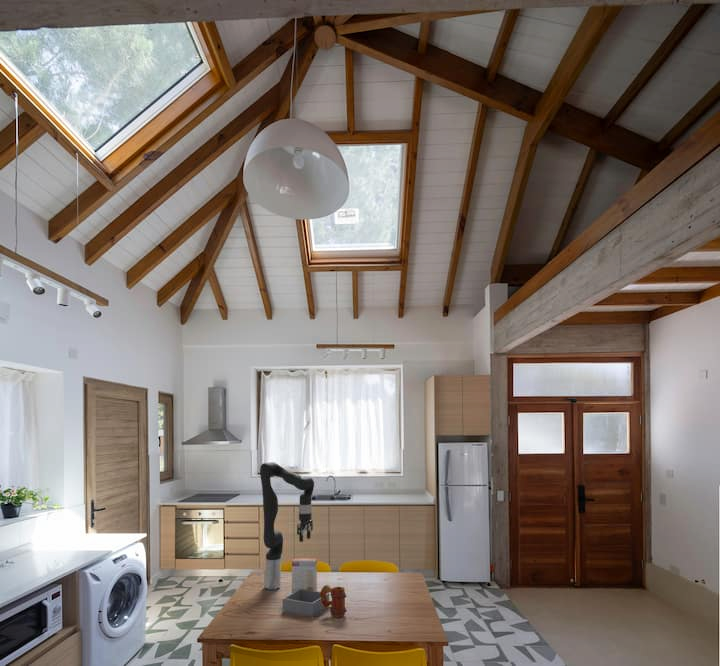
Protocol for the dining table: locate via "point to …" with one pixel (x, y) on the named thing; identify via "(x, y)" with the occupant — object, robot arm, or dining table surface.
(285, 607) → the bin
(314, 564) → the cracker box
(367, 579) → the dining table surface
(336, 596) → the mug
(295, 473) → the robot arm
